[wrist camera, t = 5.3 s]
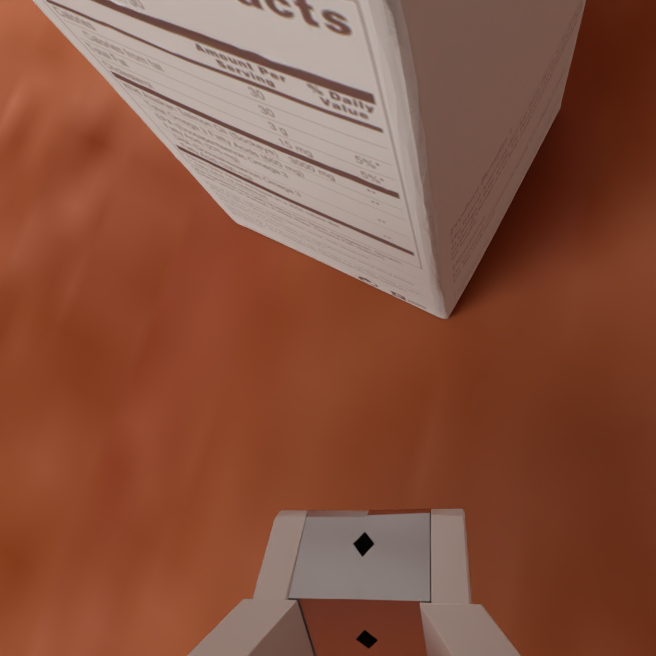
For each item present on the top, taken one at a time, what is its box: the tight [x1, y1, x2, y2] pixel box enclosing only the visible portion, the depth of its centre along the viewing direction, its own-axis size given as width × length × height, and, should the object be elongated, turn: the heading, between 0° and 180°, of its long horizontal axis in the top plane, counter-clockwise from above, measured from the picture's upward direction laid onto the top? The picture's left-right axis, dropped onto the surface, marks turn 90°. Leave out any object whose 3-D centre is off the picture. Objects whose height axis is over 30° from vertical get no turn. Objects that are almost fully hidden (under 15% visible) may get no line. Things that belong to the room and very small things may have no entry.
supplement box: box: [32, 0, 586, 319], centre depth 12 cm, size 7×7×13 cm
